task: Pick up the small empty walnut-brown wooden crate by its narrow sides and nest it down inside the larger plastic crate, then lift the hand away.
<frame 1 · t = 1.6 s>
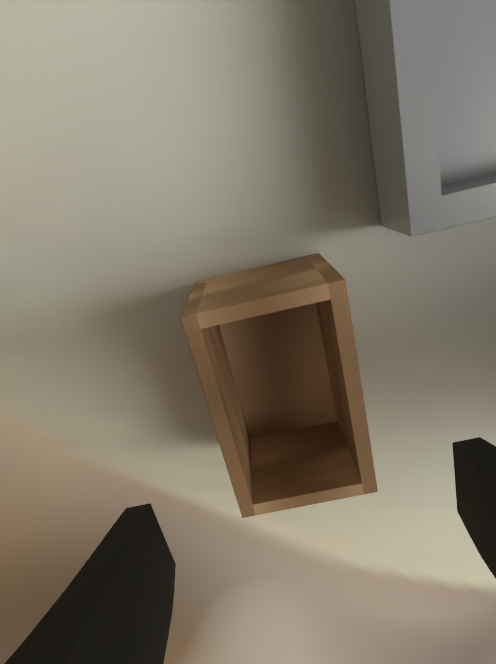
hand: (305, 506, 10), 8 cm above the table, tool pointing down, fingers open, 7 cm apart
small crate: (276, 356, 18), on the table
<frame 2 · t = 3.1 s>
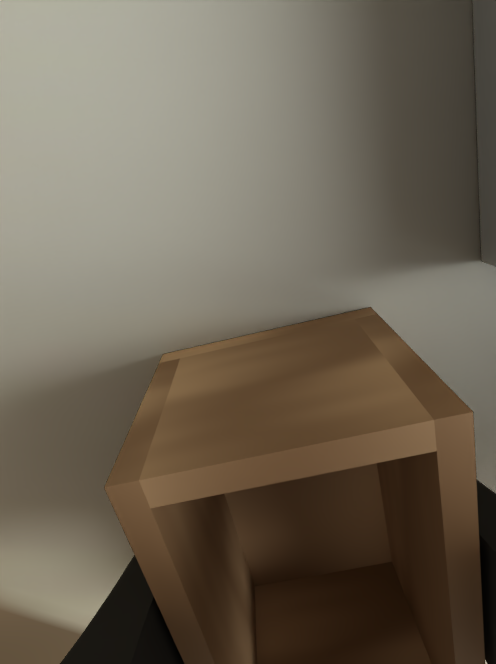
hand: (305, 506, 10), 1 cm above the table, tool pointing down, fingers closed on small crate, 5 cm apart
small crate: (297, 466, 11), on the table, touching gripper
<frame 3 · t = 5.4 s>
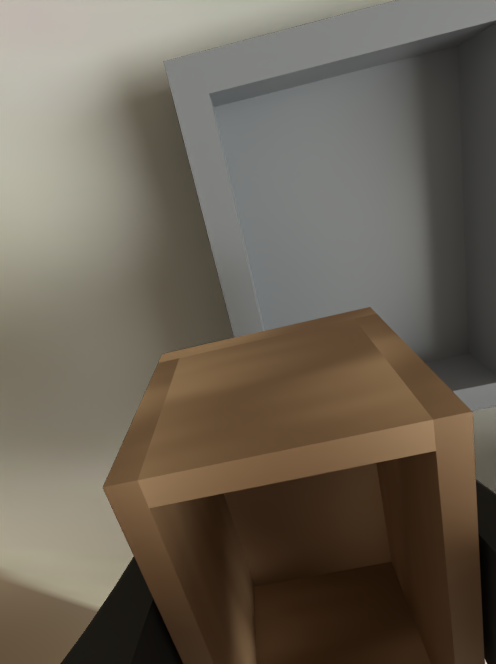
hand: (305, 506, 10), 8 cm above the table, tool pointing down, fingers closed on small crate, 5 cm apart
small crate: (296, 466, 11), point 7 cm above the table, touching gripper
big crate: (351, 241, 16), on the table
when the fingers open (4 cm above the table, at t = 7.7 s): small crate drops 2 cm, resting on big crate.
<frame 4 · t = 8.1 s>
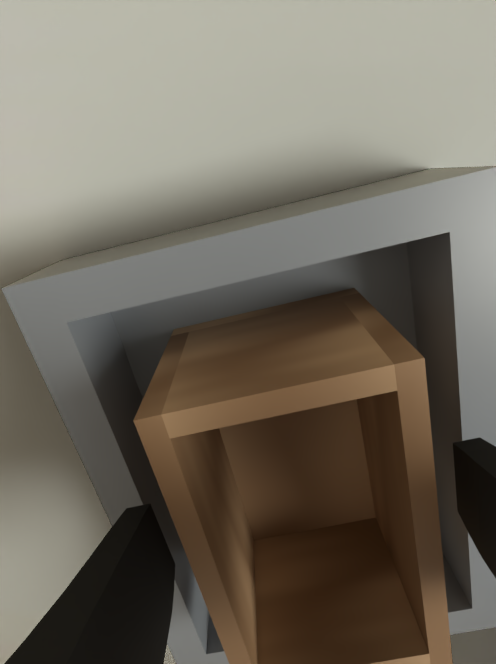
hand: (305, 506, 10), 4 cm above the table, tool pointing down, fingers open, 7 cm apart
small crate: (291, 430, 12), point 1 cm above the table, touching big crate
big crate: (289, 421, 13), on the table
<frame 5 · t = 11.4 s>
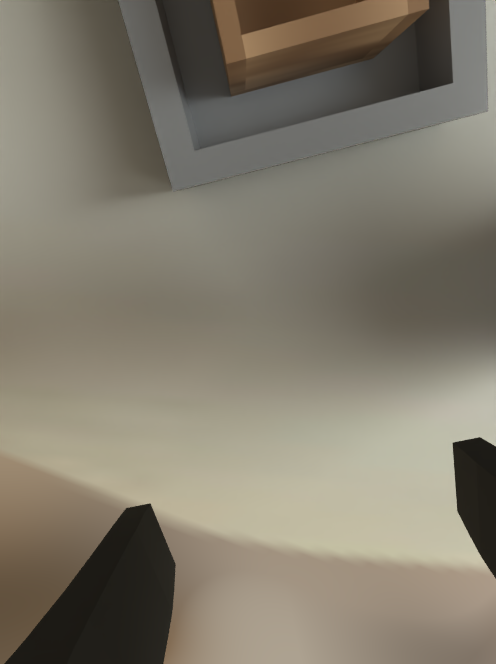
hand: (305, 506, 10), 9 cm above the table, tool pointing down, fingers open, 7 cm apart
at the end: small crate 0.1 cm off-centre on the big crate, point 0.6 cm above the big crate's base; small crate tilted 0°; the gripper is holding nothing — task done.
